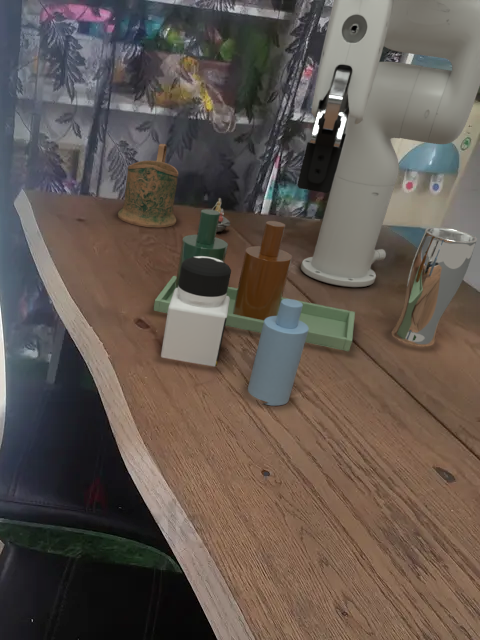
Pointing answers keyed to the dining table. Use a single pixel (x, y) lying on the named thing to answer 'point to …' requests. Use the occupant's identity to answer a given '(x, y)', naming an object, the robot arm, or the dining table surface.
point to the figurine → (221, 217)
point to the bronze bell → (150, 192)
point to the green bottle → (203, 241)
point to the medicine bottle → (198, 312)
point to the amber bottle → (263, 276)
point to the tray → (321, 320)
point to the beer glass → (433, 283)
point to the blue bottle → (278, 354)
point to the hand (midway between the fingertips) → (316, 180)
